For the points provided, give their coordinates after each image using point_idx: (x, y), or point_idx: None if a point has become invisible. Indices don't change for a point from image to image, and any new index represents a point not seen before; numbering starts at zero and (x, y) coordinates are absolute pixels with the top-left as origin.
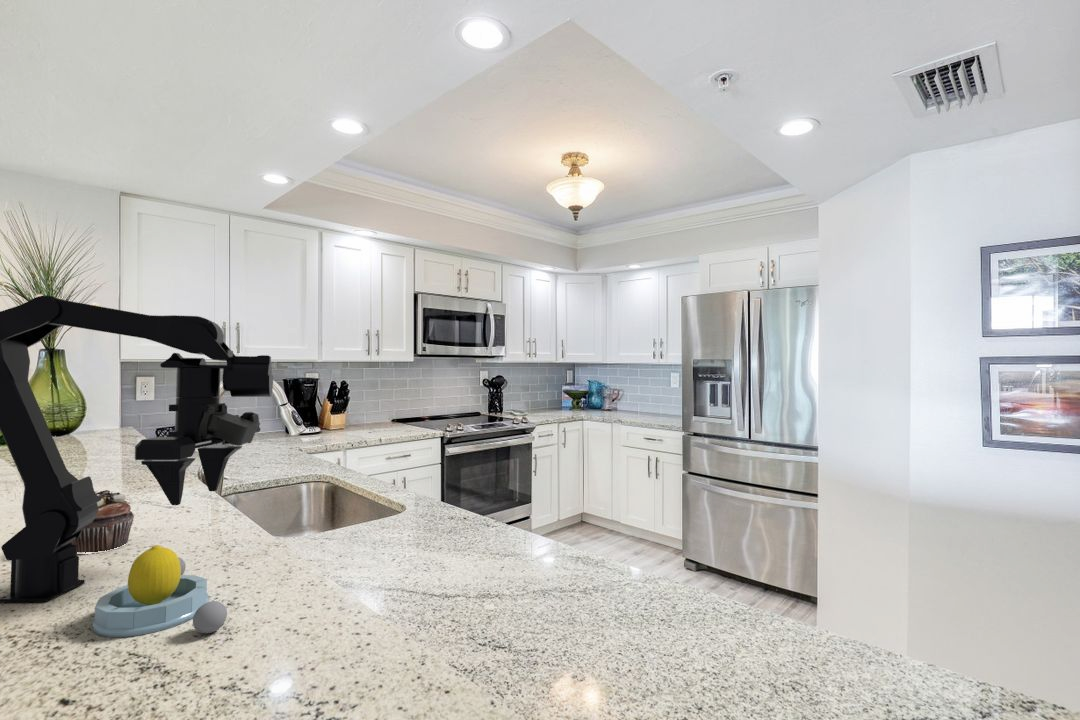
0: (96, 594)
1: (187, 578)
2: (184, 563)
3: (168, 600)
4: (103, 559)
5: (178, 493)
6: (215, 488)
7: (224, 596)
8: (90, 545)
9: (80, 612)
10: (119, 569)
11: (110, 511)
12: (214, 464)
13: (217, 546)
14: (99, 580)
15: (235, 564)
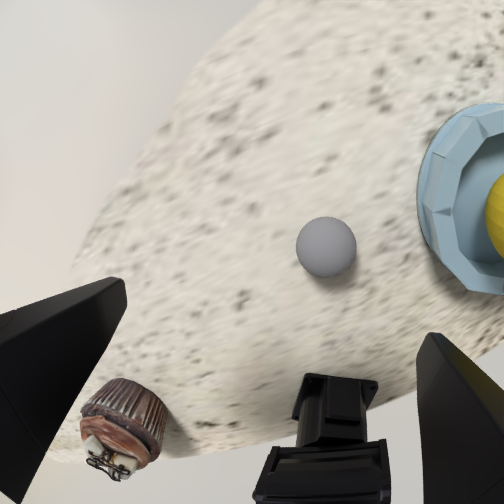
0: (365, 336)
1: (463, 165)
2: (322, 224)
3: (476, 184)
4: (185, 387)
5: (478, 368)
6: (116, 285)
7: (444, 81)
8: (160, 415)
9: (441, 318)
10: (236, 353)
11: (124, 440)
12: (27, 382)
13: (106, 231)
14: (290, 360)
15: (227, 127)
